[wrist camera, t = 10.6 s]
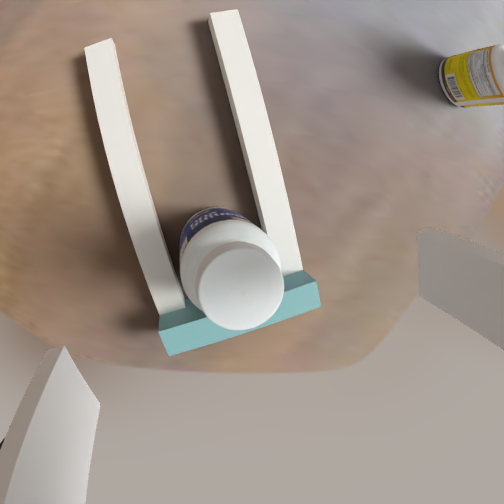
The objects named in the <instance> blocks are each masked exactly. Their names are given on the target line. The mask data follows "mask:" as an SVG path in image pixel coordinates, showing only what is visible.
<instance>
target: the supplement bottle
mask: <svg viewBox="0 0 504 504" xmlns="http://www.w3.org/2000/svg"><path fill="white" fill-rule="evenodd" d="M439 79H440V84H441V86H442V89H443V91H444V93H445V95H446V96H447V98H448V99H449V100H450V101H451V102H452V103H453V104H455V105H456V106H459V107H463V108H464V107H475V106H487V105H502V104H504V45H494V46H490V47H486V48H481V49H477V50H473V51H469V52H465V53H462V54H458V55H454V56H451V57H448V58H446V59H444V60H443V61H442V62H441V64H440V67H439Z"/></svg>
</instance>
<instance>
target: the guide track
mask: <svg viewBox="0 0 504 504" xmlns="http://www.w3.org/2000/svg"><path fill="white" fill-rule="evenodd" d="M208 24H209V28H210V31H211V35H212V39H213V42H214V46H215V50H216V53H217V57H218V61H219V65H220V68H221V72H222V76H223V80H224V83H225V87H226V91H227V95H228V98H229V102H230V106H231V110H232V114H233V118H234V121H235V125H236V129H237V133H238V137H239V141H240V145H241V149H242V152H243V156H244V160H245V164H246V168H247V172H248V176H249V180H250V184H251V188H252V192H253V196H254V200H255V204H256V208H257V212H258V216H259V220H260V224H261V228H262V231H263V232H264V233H266V234H267V236H268V237H269V238H270V239H271V240H272V242H273V243H274V245H275V247H276V249H277V251H278V254H279V258H280V265H281V272H282V275H283V279H284V293H283V298H282V301H281V303H280V305H279V307H278V309H277V310H276V312H275V313H274V314H273V315H272V316H271V317H270V318H269V319H268V320H267V321H265V322H264V323H262V324H261V325H259V326H256V327H254V328H251V329H247V330H229V329H225V328H222V327H220V326H218V325H216V324H215V323H213V322H212V321H211V320H209V319H208V317H207V316H206V315H205V314H204V312H203V311H201V310H200V309H199V308H197V307H196V306H195V305H194V304H193V303H192V302H191V300H190V299H189V298H188V299H185V298H184V295H183V292H182V290H181V287H180V284H179V281H178V278H177V275H176V272H175V269H174V266H173V264H172V261H171V258H170V255H169V251H168V248H167V245H166V242H165V239H164V236H163V233H162V230H161V226H160V223H159V220H158V217H157V214H156V210H155V207H154V204H153V200H152V197H151V193H150V190H149V186H148V183H147V179H146V176H145V172H144V169H143V165H142V161H141V157H140V154H139V150H138V146H137V142H136V138H135V134H134V130H133V126H132V122H131V118H130V114H129V110H128V105H127V101H126V96H125V92H124V87H123V83H122V78H121V73H120V68H119V63H118V58H117V53H116V48H115V44H114V42H113V40H112V38H110V39H107V40H104V41H101V42H99V43H96V44H93V45H90V46H88V47H85V54H86V61H87V67H88V72H89V78H90V83H91V89H92V94H93V99H94V103H95V108H96V113H97V117H98V122H99V126H100V130H101V135H102V139H103V143H104V147H105V151H106V155H107V159H108V162H109V166H110V170H111V174H112V177H113V181H114V184H115V188H116V191H117V195H118V198H119V201H120V205H121V208H122V211H123V214H124V218H125V221H126V224H127V227H128V230H129V233H130V236H131V239H132V242H133V245H134V248H135V251H136V254H137V257H138V259H139V262H140V265H141V268H142V271H143V273H144V276H145V279H146V282H147V284H148V287H149V289H150V292H151V295H152V297H153V300H154V302H155V305H156V307H157V310H158V312H159V315H160V317H159V329H158V332H159V335H160V337H161V339H162V341H163V344H164V346H165V348H166V350H167V353H168V355H169V356H171V355H175V354H178V353H182V352H185V351H188V350H192V349H195V348H199V347H202V346H205V345H208V344H212V343H215V342H218V341H221V340H225V339H228V338H231V337H234V336H237V335H240V334H243V333H246V332H249V331H252V330H255V329H258V328H261V327H264V326H267V325H270V324H273V323H276V322H279V321H282V320H285V319H287V318H290V317H293V316H296V315H299V314H301V313H304V312H307V311H310V310H312V309H315V308H318V307H320V306H321V304H320V299H319V293H318V287H317V282H316V280H315V279H313V278H312V277H311V276H310V275H309V274H307V273H306V272H305V271H304V270H303V267H302V263H301V258H300V253H299V248H298V243H297V239H296V234H295V229H294V225H293V220H292V216H291V211H290V207H289V202H288V198H287V194H286V189H285V185H284V181H283V176H282V172H281V168H280V164H279V160H278V155H277V151H276V147H275V143H274V139H273V135H272V131H271V127H270V123H269V119H268V116H267V112H266V108H265V104H264V100H263V97H262V93H261V89H260V85H259V82H258V78H257V74H256V71H255V67H254V64H253V60H252V57H251V53H250V50H249V46H248V43H247V39H246V36H245V32H244V29H243V26H242V22H241V19H240V16H239V12H238V9H236V10H228V11H221V12H215V13H210V15H209V19H208Z"/></svg>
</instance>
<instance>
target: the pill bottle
mask: <svg viewBox="0 0 504 504" xmlns="http://www.w3.org/2000/svg"><path fill="white" fill-rule="evenodd" d="M180 276H181V281H182V285H183V288H184V290H185V293H186V294H187V296H188V298H189V299H190V300H191V302H192V303H193V304H194V305H195V306H196V307H197V308H199V309H200V310H201V311H203V312H204V314H205V315H206V316H207V317H208V319H209V320H211V321H212V322H213V323H215V324H216V325H218V326H220V327H222V328H225V329H229V330H247V329H251V328H254V327H256V326H259V325H261V324H262V323H264V322H265V321H267V320H268V319H269V318H270V317H271V316H272V315H273V314H274V313H275V312H276V310H277V309H278V307H279V305H280V303H281V301H282V298H283V293H284V279H283V275H282V272H281V265H280V258H279V254H278V251H277V249H276V247H275V245H274V243H273V242H272V240H271V239H270V238H269V237H268V236H267V234H266V233H264V232H263V231H262V230H261V229H260V228H258V227H257V226H256V225H254V224H253V223H252V222H250V221H249V220H247V219H246V218H245V217H243V216H242V215H241V214H239V213H237V212H236V211H234V210H231V209H228V208H224V207H212V208H207V209H204V210H202V211H200V212H198V213H196V214H195V215H193V216H192V217H191V218H190V219H189V220H188V222H187V223H186V225H185V226H184V228H183V230H182V233H181V237H180Z"/></svg>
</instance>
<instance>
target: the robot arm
mask: <svg viewBox="0 0 504 504" xmlns="http://www.w3.org/2000/svg"><path fill="white" fill-rule="evenodd" d="M417 245H418V270H419V296H420V297H422V298H424V299H425V300H427V301H428V302H430V303H432V304H433V305H435V306H437V307H438V308H440V309H441V310H443V311H444V312H446V313H448V314H449V315H451V316H453V317H454V318H456V319H457V320H459V321H460V322H462V323H463V324H465V325H467V326H468V327H470V328H471V329H473V330H474V331H476V332H478V333H479V334H480V335H482V336H483V337H485V338H487V339H488V340H490V341H491V342H493V343H494V344H496V345H497V346H499V347H500V348H502V349H503V350H504V253H502V252H500V251H497V250H494V249H492V248H489V247H486V246H484V245H481V244H478V243H475V242H473V241H470V240H467V239H464V238H461V237H459V236H456V235H453V234H450V233H447V232H444V231H441V230H438V229H435V228H432V227H429V228H426V229H424V230H421V231H418V232H417ZM99 410H100V403H99V402H98V400H97V399H96V397H95V396H94V394H93V393H92V391H91V390H90V388H89V386H88V385H87V383H86V382H85V380H84V378H83V377H82V375H81V374H80V372H79V370H78V369H77V367H76V365H75V364H74V362H73V360H72V358H71V356H70V355H69V353H68V351H67V349H66V348H65V346H61V347H57V348H53V349H49V350H47V352H46V354H45V355H44V357H43V359H42V361H41V363H40V365H39V367H38V369H37V371H36V372H35V374H34V377H33V378H32V380H31V382H30V384H29V386H28V388H27V390H26V392H25V395H24V397H23V399H22V401H21V403H20V405H19V407H18V410H17V412H16V414H15V416H14V419H13V421H12V423H11V425H10V427H9V430H8V432H7V435H6V437H5V438H4V439H3V441H2V442H1V443H0V504H85V500H86V491H87V483H88V475H89V468H90V461H91V455H92V448H93V443H94V437H95V431H96V426H97V420H98V415H99Z"/></svg>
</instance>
